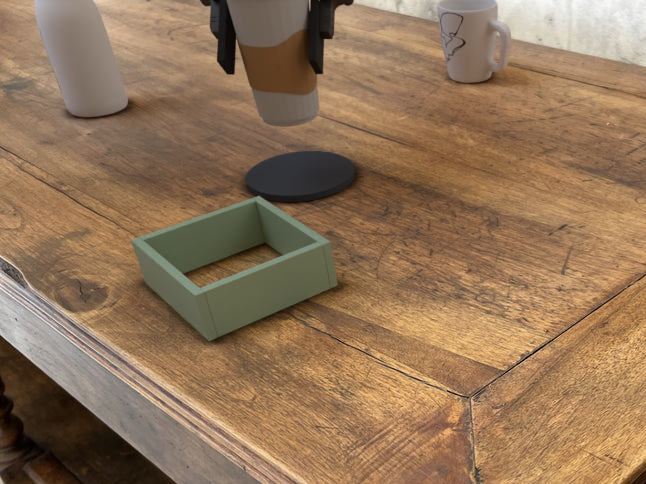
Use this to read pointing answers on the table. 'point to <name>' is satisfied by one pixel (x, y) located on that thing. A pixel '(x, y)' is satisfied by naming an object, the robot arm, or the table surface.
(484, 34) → the mug
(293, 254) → the frame
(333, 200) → the table surface
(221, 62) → the robot arm
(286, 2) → the coffee cup
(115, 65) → the milk bottle
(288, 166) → the slate mat
